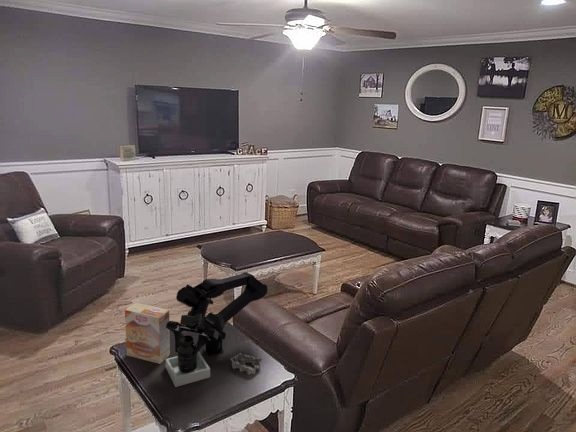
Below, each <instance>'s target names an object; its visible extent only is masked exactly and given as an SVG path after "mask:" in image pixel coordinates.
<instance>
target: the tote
mask: <svg viewBox="0 0 576 432" xmlns="http://www.w3.org/2000/svg"><path fill="white" fill-rule="evenodd" d="M165 369H166V371H167V372H168V375H169V377H170V379H171V381H172V383H173V385H174V386H175V388H177V387H180V386H184V385H188V384H190V383H195V382H199V381H202V380H205V379H208V378H211V368H210V366H209V365H208V363H207V361H206V360H205V359H204V356H202V354H201V352H200V351H199V352H198V353H197V368H196V369H195V370H194V371H193V372H190V373H182V372H180V371H179V369H178V358H177V356H173V357H172V356H171V357H167V358H166V359H165Z"/></svg>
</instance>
